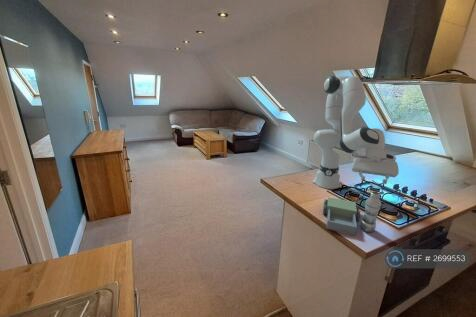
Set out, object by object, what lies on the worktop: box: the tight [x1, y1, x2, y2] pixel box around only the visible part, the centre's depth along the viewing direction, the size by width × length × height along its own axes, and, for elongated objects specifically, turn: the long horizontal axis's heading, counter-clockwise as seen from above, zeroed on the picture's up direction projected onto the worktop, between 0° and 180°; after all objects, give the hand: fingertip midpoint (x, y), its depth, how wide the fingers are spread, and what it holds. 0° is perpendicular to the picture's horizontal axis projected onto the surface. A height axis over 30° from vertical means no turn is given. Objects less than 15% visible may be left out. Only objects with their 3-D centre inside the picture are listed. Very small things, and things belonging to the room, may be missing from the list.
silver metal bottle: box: [360, 190, 382, 233], centre depth 105 cm, size 6×7×20 cm
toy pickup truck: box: [322, 197, 361, 236], centre depth 115 cm, size 23×17×6 cm
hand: (373, 181), depth 110 cm, fingers open, 8 cm apart
